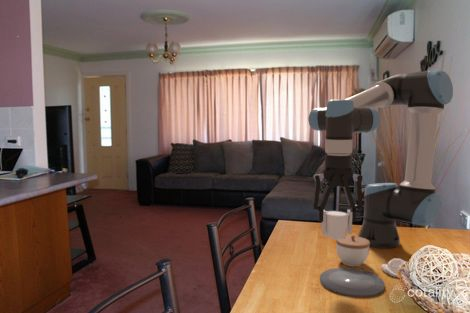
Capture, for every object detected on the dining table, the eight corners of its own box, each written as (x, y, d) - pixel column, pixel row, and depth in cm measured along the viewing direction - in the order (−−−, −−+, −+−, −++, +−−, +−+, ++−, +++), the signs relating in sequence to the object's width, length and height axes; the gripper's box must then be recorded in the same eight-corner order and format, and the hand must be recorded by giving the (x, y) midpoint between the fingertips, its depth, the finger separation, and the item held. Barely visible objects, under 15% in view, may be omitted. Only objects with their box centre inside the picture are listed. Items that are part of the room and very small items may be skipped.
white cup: (348, 241, 112) (349, 217, 111) (323, 238, 113) (324, 214, 112) (346, 234, 118) (348, 211, 118) (323, 232, 120) (324, 209, 119)
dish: (371, 271, 125) (371, 267, 124) (394, 296, 107) (395, 293, 107) (314, 270, 124) (314, 267, 124) (328, 296, 106) (328, 292, 106)
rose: (416, 257, 126) (416, 267, 117) (415, 270, 126) (415, 282, 117) (382, 252, 130) (380, 262, 121) (382, 265, 130) (380, 276, 121)
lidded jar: (364, 271, 124) (365, 242, 123) (330, 264, 130) (331, 236, 129) (372, 261, 133) (373, 234, 132) (340, 255, 139) (341, 229, 138)
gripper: (368, 152, 117) (366, 229, 119) (301, 152, 117) (300, 228, 120) (377, 155, 109) (374, 236, 112) (306, 155, 110) (304, 236, 112)
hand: (336, 232), depth 116 cm, fingers closed on white cup, 7 cm apart
